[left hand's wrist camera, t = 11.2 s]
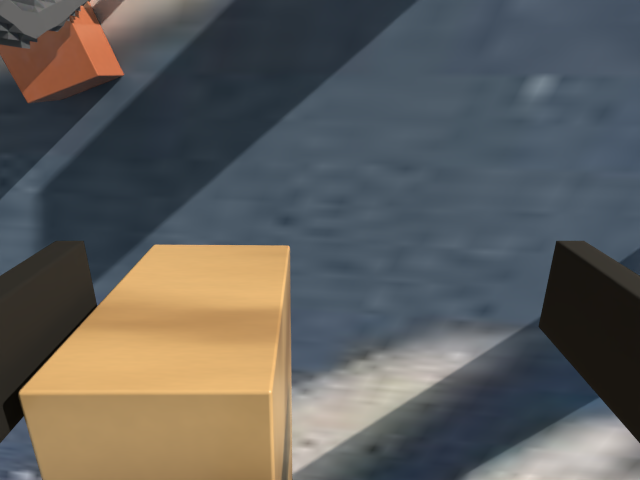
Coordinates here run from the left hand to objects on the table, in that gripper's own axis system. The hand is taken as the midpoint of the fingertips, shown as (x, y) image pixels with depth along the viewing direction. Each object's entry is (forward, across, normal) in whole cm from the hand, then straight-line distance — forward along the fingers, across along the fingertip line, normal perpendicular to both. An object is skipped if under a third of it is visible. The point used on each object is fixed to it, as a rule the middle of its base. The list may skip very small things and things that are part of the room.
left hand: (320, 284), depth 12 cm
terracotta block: (+21, +17, -7) cm, 28 cm away
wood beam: (+4, +4, +13) cm, 14 cm away
